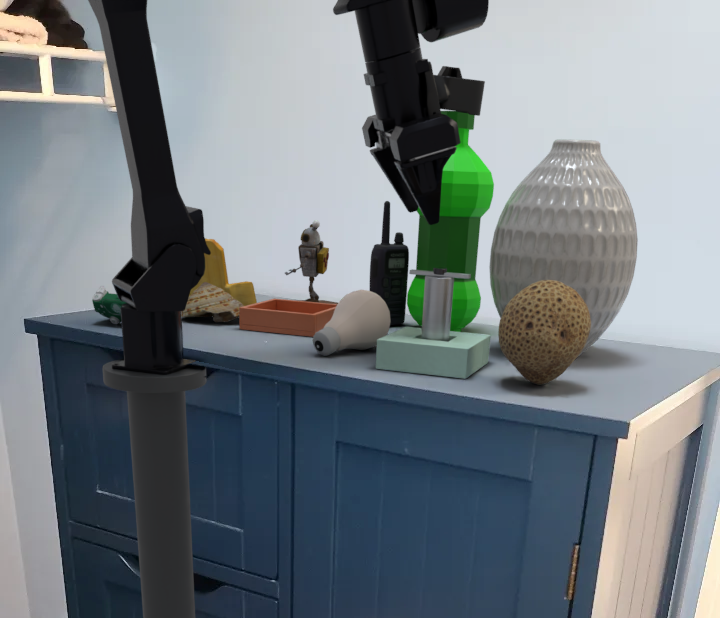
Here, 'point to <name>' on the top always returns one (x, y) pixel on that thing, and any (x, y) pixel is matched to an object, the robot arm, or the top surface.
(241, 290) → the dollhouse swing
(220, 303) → the seashell
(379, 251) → the two-way radio
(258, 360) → the top surface
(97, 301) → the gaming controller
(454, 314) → the plastic bottle
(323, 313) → the dish
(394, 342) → the green square holed block
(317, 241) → the robot figurine
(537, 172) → the vase
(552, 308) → the natural sponge
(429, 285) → the silver cylinder with crossbar
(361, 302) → the light bulb
